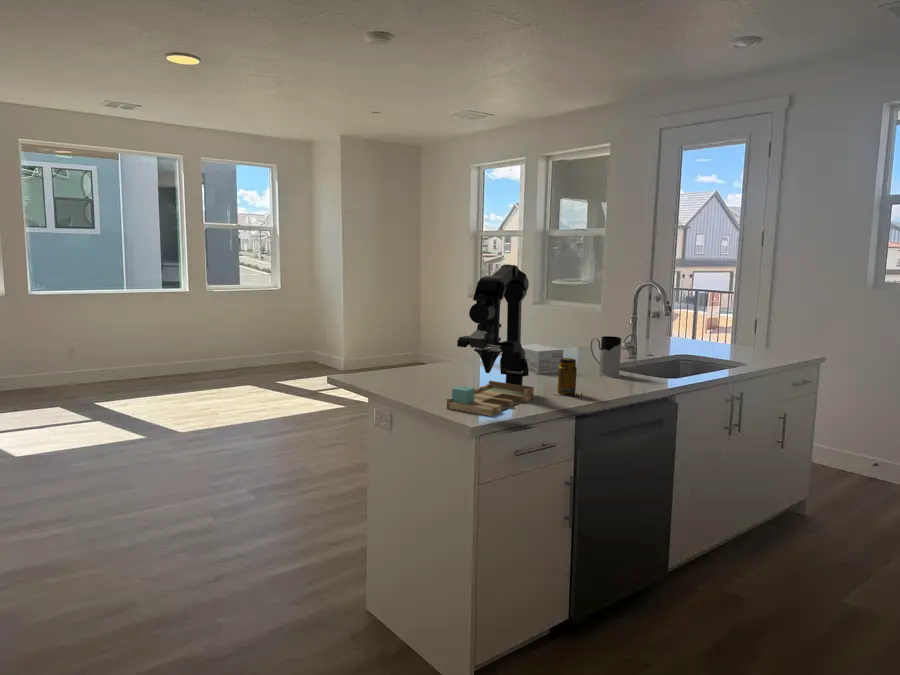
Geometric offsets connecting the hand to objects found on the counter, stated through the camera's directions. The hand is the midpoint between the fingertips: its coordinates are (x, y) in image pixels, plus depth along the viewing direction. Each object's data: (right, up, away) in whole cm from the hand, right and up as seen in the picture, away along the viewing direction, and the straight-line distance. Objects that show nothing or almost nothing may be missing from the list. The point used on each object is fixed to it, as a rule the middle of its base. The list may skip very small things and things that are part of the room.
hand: (487, 373), depth 189 cm
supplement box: (+25, -3, +73) cm, 77 cm away
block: (-7, -9, +5) cm, 13 cm away
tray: (+2, -10, +12) cm, 16 cm away
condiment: (+29, -9, +29) cm, 42 cm away
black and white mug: (+50, -4, +67) cm, 84 cm away
